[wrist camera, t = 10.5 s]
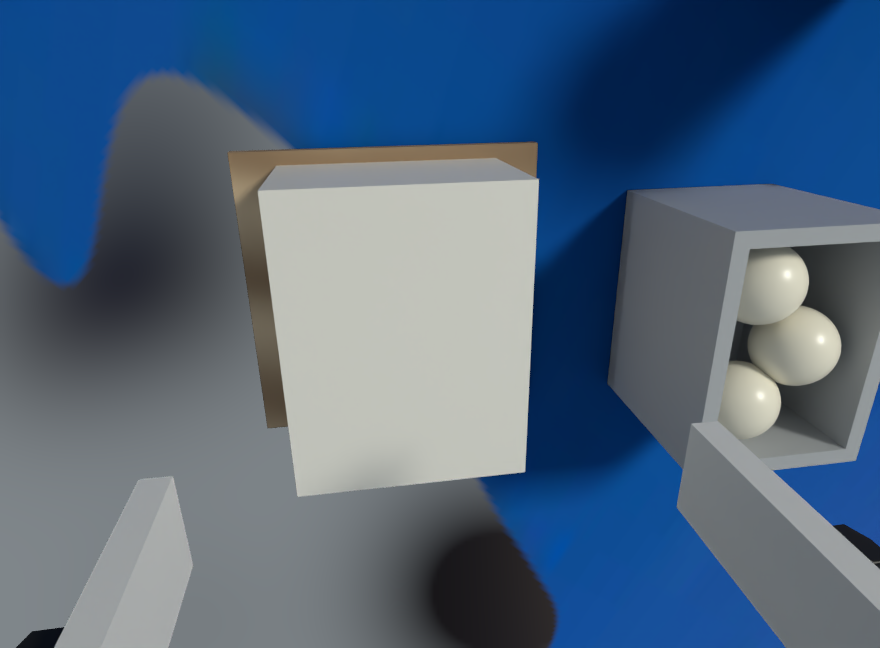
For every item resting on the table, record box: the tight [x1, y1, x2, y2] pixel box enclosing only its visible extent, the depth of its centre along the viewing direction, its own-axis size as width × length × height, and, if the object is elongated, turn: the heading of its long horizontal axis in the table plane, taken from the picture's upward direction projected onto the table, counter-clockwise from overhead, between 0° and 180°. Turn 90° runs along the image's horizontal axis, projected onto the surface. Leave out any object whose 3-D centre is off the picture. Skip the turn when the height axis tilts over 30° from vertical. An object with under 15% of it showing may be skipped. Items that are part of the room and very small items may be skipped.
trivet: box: [228, 142, 538, 428], centre depth 30 cm, size 14×14×1 cm
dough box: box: [607, 184, 880, 470], centre depth 29 cm, size 11×8×9 cm
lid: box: [258, 158, 539, 497], centre depth 27 cm, size 13×10×7 cm
